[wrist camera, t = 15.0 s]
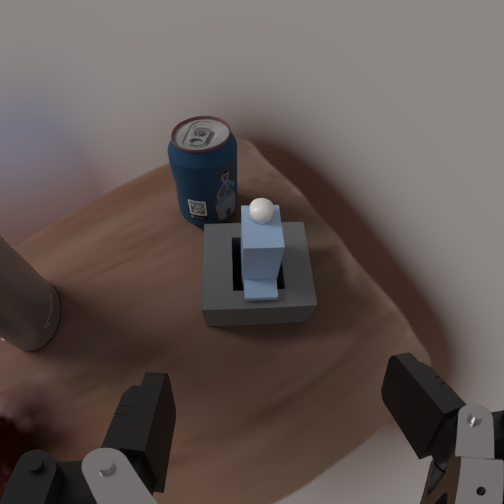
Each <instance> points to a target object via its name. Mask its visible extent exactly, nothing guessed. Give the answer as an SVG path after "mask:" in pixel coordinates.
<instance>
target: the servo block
mask: <svg viewBox="0 0 504 504" xmlns="http://www.w3.org/2000/svg"><path fill="white" fill-rule="evenodd" d="M284 248H285V246H284V239H283V232H282V224H281V217H280V210H279V205H273V203H272V202H271V201H270V200H268V199H265V198H257V199H255V200H253V201H252V202H251V204H250V205H249V206H241V285H242V291H244V296H245V301H258V300H277V299H278V291H277V277H278V273H279V269H280V265H281V260H282V256H283V252H284Z"/></svg>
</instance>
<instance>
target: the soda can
mask: <svg viewBox="0 0 504 504" xmlns="http://www.w3.org/2000/svg"><path fill="white" fill-rule="evenodd" d="M168 156H169V161H170V166H171V170H172V175H173V179H174V184H175V188H176V193H177V197H178V202H179V206H180V210H181V213H182V215H183V216H184V218H185V219H186V220H188V221H189V222H190V223H192V224H194V225H196V226H199V227H202V228H204V224H223V223H225V222H226V221H227V220H228V219H229V218H230V217H231V216H232V215H233V214H234V212H235V210H236V207H237V142H236V139H235V137H234V136H233V134H232V133H231V130H230V126H229V125H228V124H227V123H226V122H225V121H224V120H222V119H219V118H216V117H211V116H198V117H194V118H190V119H187V120H185V121H182V122H181V123H179V124H178V125H177V126H176V127H175V128H174V129H173V131H172V134H171V141H170V143H169V146H168Z"/></svg>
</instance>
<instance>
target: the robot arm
mask: <svg viewBox="0 0 504 504" xmlns="http://www.w3.org/2000/svg"><path fill="white" fill-rule="evenodd" d="M59 318H60V300H59V297H58V294H57V292H56V290H55V289H54V288H53V287H52V285H51V284H49V283H48V282H47V281H46V280H45V279H44V278H43V277H42V276H41V275H40V274H39V273H38V272H37V271H36V270H35V269H34V268H33V267H32V266H31V265H30V264H29V263H28V262H27V261H26V260H25V259H24V258H23V257H22V256H21V255H20V254H19V253H18V252H17V251H16V250H15V249H14V248H13V247H12V246H11V245H10V244H9V243H8V242H7V241H6V240H5V238H4V237H3V236H2V235H1V234H0V339H2V340H4V341H6V342H8V343H10V344H12V345H14V346H16V347H18V348H20V349H22V350H25V351H35V350H37V349H40V348H41V347H43V346H44V345H45V344H46V343H47V342H48V341H49V340H50V339H51V338H52V336H53V334H54V333H55V331H56V328H57V326H58V323H59ZM381 394H382V399H383V402H384V403H385V405H386V407H387V408H388V410H389V411H390V413H391V414H392V416H393V418H394V419H395V421H396V422H397V424H398V426H399V427H400V429H401V430H402V432H403V433H404V435H405V437H406V438H407V440H408V442H409V443H410V445H411V446H412V448H413V450H414V451H415V453H416V455H417V456H418V457H419V459H422V458H425V457H427V456H430V455H431V456H432V457H433V460H432V461H431V464H430V467H429V472H428V476H427V480H426V484H425V488H424V492H423V495H422V499H421V502H420V504H504V410H503V411H498V412H490V411H489V410H488V409H486V408H485V407H483V406H481V405H478V404H469V405H466V404H465V403H464V402H463V400H462V399H461V398H460V397H459V396H458V395H457V394H456V393H455V392H454V391H453V390H452V388H450V386H449V385H448V384H446V383H445V381H444V380H443V379H442V378H440V376H439V375H438V374H437V372H436V371H434V369H433V368H431V367H429V366H428V365H426V364H424V363H422V362H421V363H420V362H419V361H418V360H417V359H416V358H415V357H414V356H413V355H412V354H411V353H404V354H399V355H394V356H391V357H390V359H389V361H388V365H387V369H386V373H385V377H384V381H383V385H382V389H381ZM118 405H119V406H118V407H117V409H116V412H115V415H114V417H113V419H112V421H111V424H110V426H109V429H108V431H107V434H106V437H105V439H104V442H103V444H102V447H101V448H100V449H96V450H94V451H92V452H90V453H89V454H87V455H86V457H85V458H84V460H83V461H71V462H56V460H55V459H54V458H53V456H52V455H51V454H49V453H48V452H46V451H43V450H31V451H29V452H26V453H25V454H23V455H22V456H21V457H20V459H19V460H18V462H17V464H16V467H15V469H14V471H13V473H12V475H11V477H10V480H9V482H8V484H7V486H6V489H5V491H4V493H3V496H2V498H1V500H0V504H158V503H157V502H156V501H155V499H154V498H153V492H161V493H164V488H165V481H166V475H167V468H168V462H169V456H170V450H171V444H172V438H173V432H174V427H175V421H176V408H175V403H174V398H173V394H172V389H171V384H170V379H169V376H168V374H167V373H148V372H147V373H146V374H145V375H144V378H143V381H142V383H141V386H131V387H130V388H129V389H128V390H127V391H126V392H125V393H124V394H123V395H122V397H121V400H120V402H119V404H118Z"/></svg>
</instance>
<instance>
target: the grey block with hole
mask: <svg viewBox="0 0 504 504" xmlns="http://www.w3.org/2000/svg"><path fill="white" fill-rule="evenodd" d="M281 224H282V232H283V239H284V246H285V248H284V252H283V256H282V260H281V265H280V269H279V273H278V277H277V291H278V299H277V300H258V301H245V296H244V291H233V262H241V223H225V224H204V244H203V279H202V311H203V314H204V317H205V320H206V323H207V326H239V325H263V324H282V323H298V322H307V320H308V319H309V317H310V316H311V314H312V312H313V311H314V309H315V308H316V306H317V300H316V293H315V287H314V280H313V274H312V268H311V262H310V256H309V251H308V245H307V239H306V234H305V228H304V223H303V222H281Z"/></svg>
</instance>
